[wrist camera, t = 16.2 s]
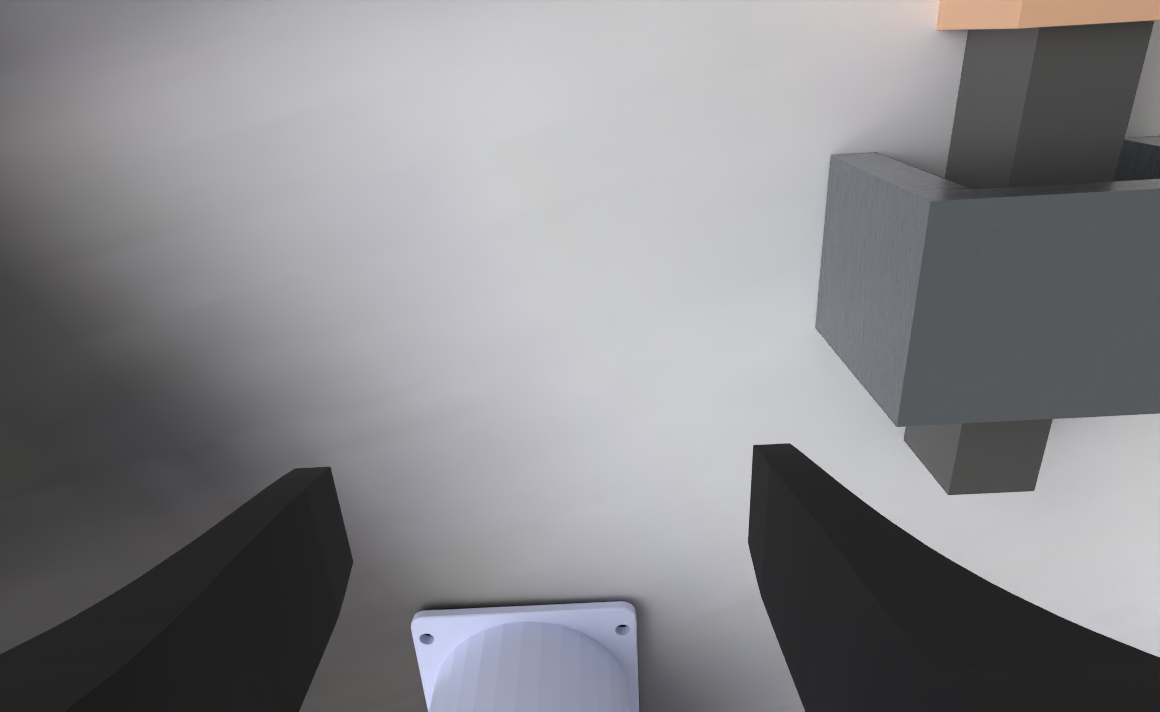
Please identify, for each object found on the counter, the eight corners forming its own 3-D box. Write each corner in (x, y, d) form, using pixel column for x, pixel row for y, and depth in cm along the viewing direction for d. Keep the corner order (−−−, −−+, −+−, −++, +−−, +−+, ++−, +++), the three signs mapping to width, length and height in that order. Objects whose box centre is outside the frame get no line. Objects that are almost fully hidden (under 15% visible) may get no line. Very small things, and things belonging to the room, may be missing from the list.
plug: (1003, 434, 23) (1076, 502, 19) (878, 440, 23) (929, 509, 19) (1151, -220, 16) (1304, -288, 12) (968, -208, 16) (1072, -272, 12)
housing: (1184, 308, 21) (1392, 401, 15) (815, 328, 21) (896, 426, 16) (1240, 131, 19) (1504, 168, 13) (831, 155, 19) (930, 201, 14)
